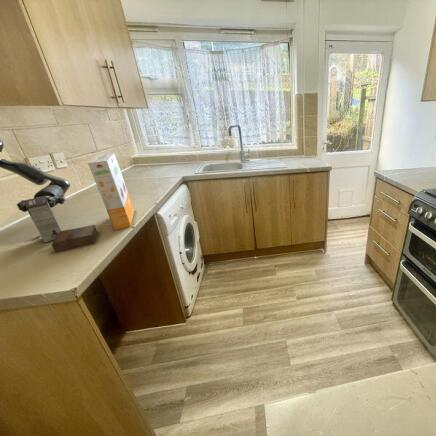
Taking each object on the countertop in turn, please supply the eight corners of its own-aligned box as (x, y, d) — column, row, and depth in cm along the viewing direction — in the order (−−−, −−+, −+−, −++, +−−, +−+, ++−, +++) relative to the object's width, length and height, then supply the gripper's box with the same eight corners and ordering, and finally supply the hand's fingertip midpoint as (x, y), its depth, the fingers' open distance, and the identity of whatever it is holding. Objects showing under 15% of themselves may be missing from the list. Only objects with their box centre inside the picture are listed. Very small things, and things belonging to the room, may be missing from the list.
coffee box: (41, 233, 104) (23, 199, 96) (61, 228, 108) (45, 195, 100) (44, 243, 99) (25, 207, 91) (64, 237, 103) (48, 202, 95)
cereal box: (120, 213, 126) (98, 154, 114) (134, 210, 129) (114, 153, 116) (115, 230, 108) (87, 163, 95) (131, 227, 110) (106, 160, 98)
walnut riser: (55, 252, 91) (50, 243, 90) (62, 239, 101) (58, 231, 99) (94, 244, 97) (91, 235, 95) (98, 232, 106) (94, 224, 105)
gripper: (72, 201, 114) (64, 212, 101) (30, 207, 108) (16, 220, 95) (65, 185, 111) (56, 195, 98) (23, 191, 105) (7, 201, 92)
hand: (37, 207), depth 96 cm, fingers closed on coffee box, 7 cm apart
